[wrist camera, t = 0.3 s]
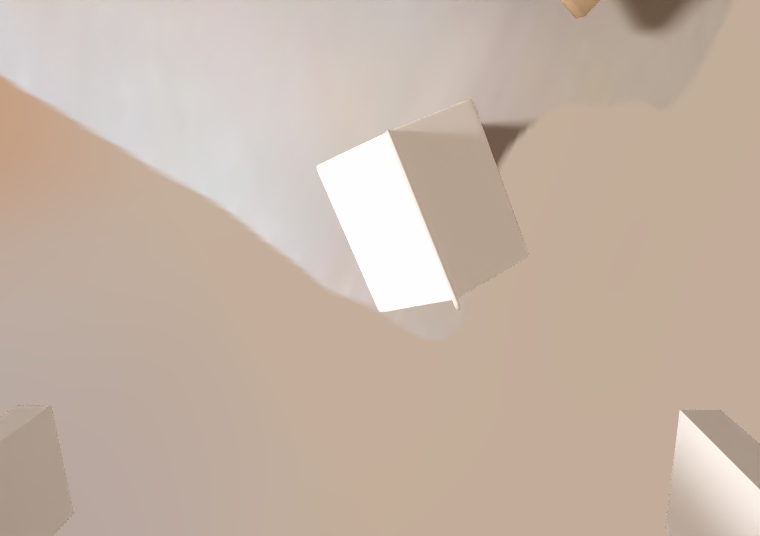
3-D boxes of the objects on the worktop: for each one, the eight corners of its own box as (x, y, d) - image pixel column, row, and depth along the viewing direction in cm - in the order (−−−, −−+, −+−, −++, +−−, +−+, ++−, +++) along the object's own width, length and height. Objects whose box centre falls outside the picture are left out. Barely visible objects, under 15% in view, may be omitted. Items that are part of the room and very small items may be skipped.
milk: (397, 231, 37) (368, 350, 16) (366, 155, 36) (287, 172, 15) (474, 200, 36) (554, 282, 15) (444, 121, 35) (484, 85, 14)
